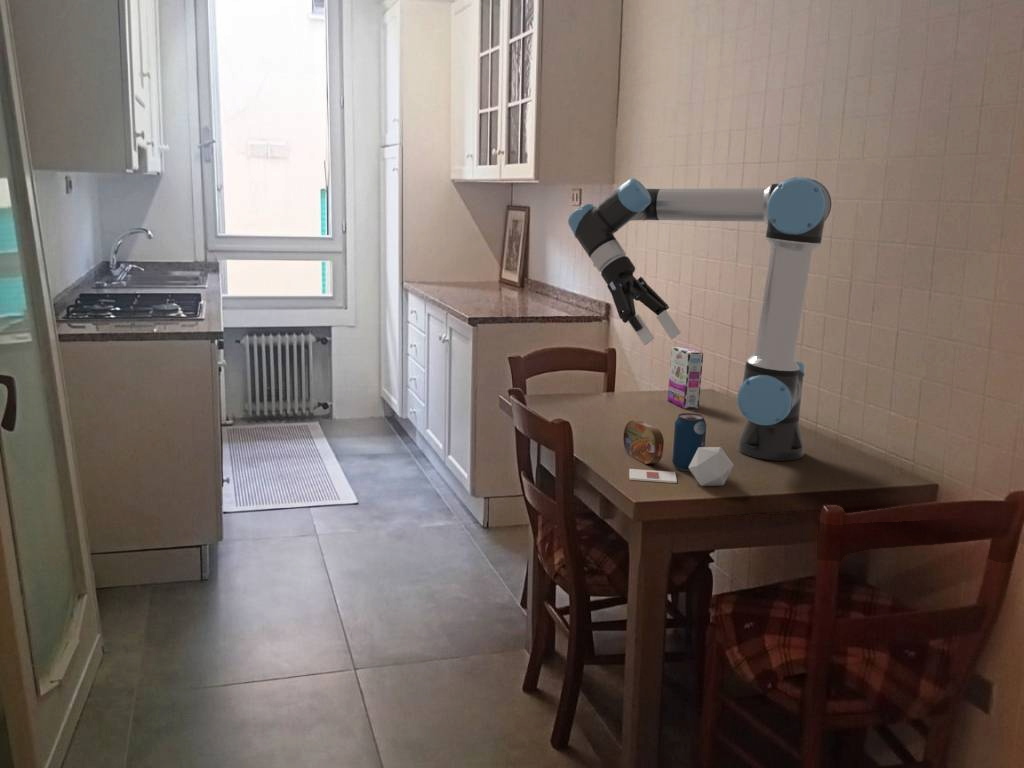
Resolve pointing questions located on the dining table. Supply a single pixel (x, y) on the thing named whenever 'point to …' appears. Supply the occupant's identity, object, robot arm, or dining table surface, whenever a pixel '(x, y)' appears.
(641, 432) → the tin
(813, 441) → the dining table surface
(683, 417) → the soda can
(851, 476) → the dining table surface
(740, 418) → the dining table surface
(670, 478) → the card
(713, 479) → the die
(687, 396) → the candy bar box
